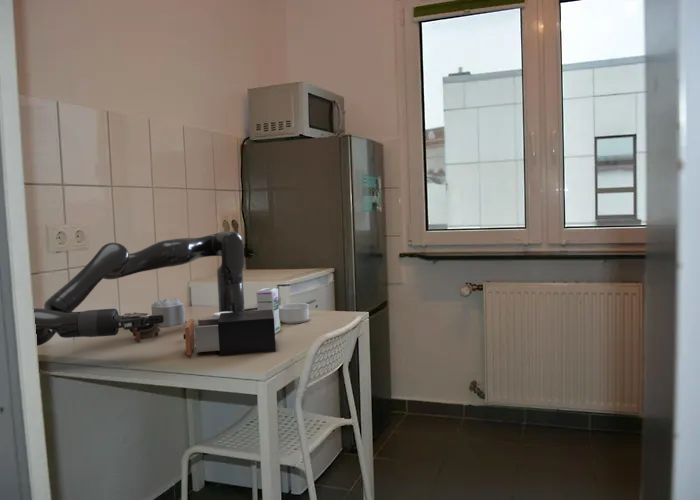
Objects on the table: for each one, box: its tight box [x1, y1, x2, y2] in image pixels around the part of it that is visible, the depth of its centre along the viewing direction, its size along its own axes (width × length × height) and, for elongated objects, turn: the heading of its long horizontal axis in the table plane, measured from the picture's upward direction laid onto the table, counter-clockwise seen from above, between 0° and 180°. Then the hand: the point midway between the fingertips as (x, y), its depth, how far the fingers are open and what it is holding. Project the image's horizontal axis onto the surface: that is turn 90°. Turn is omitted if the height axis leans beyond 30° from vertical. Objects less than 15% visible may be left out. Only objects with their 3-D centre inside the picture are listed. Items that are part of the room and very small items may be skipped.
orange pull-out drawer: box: [182, 317, 220, 356], centre depth 164 cm, size 16×13×8 cm
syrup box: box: [255, 287, 282, 335], centre depth 186 cm, size 6×6×14 cm
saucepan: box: [279, 299, 317, 325], centre depth 206 cm, size 12×20×6 cm, turn 150°
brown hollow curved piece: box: [128, 323, 161, 343], centre depth 183 cm, size 12×10×8 cm
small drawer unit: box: [218, 309, 277, 357], centre depth 166 cm, size 16×14×10 cm
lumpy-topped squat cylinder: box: [150, 298, 186, 328], centre depth 208 cm, size 10×13×9 cm
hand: (163, 318), depth 158 cm, fingers closed
